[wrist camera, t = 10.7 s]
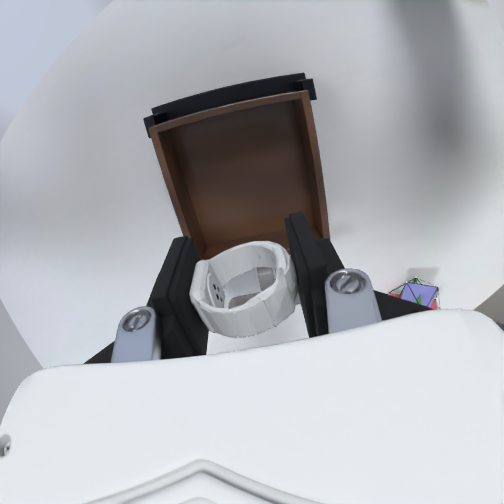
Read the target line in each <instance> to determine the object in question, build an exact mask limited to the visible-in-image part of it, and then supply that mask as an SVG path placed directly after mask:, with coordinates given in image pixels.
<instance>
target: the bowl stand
mask: <svg viewBox="0 0 504 504" xmlns="http://www.w3.org/2000/svg"><path fill="white" fill-rule="evenodd" d="M306 90H308V92H309V97H310V100H316V99H317V98H316V93H315V88H314V83H313V79H306V78H305V73H298V74H291V75H284V76H278V77H272V78H266V79H260V80H255V81H250V82H245V83H241V84H236V85H232V86H227V87H223V88H219V89H215V90H211V91H207V92H203V93H200V94H196V95H193V96H189V97H186V98H182V99H179V100H176V101H173V102H170V103H167V104H163V105H160V106H158V107H155V108H152V109H151V110H152V113H153V115H152V116H149V117H146V118H144V119H143V120H144V123H145V127H146V130H147V134H148V137H149V138H151V135H150V131H149V128H150V127H153V126H155V125H158V124H161V123H163V122H166V121H169V120H173V119H176V118H179V117H183V116H186V115H189V114H193V113H196V112H200V111H204V110H207V109H211V108H215V107H219V106H223V105H227V104H232V103H236V102H241V101H245V100H250V99H255V98H260V97H265V96H271V95H276V94H282V93H288V92H295V91H306Z"/></svg>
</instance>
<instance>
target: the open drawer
mask: <svg viewBox="0 0 504 504" xmlns="http://www.w3.org/2000/svg"><path fill="white" fill-rule="evenodd" d="M149 131H150V135H151V138H152V142H153V145H154V148H155V151H156V155H157V158H158V161H159V164H160V167H161V171H162V174H163V177H164V180H165V183H166V186H167V189H168V192H169V195H170V198H171V201H172V204H173V207H174V210H175V213H176V216H177V219H178V221H179V224H180V227H181V230H182V233H183V236H188V238H193V240H194V242H195V245H196V248H197V251H198V254H199V256H200V259H201V260H207V259H208V260H210V259H211V258H213V257H215V256H216V255H218V254H220V253H222V252H224V251H226V250H229V249H230V248H233V247H235V246H238V245H241V244H245V243H249V242H253V241H270V242H273V243H277V244H279V245H281V246H282V247H283V248H285V250H286V251H287V253H288V254H289V255H291V254H290V248H289V243H288V237H287V231H286V226H285V220H284V218H289V214H291V213H296V212H301V211H302V212H303V214H304V216H305V218H306V220H307V223H308V225H309V227H310V229H311V231H312V233H313V235H314V238H315V240H319V239H324V238H329V240H330V233H329V223H328V214H327V205H326V197H325V189H324V182H323V174H322V167H321V161H320V154H319V148H318V141H317V135H316V130H315V124H314V118H313V113H312V108H311V102H310V97H309V92H308V90H306V91H295V92H288V93H282V94H276V95H271V96H265V97H260V98H255V99H250V100H245V101H241V102H236V103H232V104H227V105H223V106H219V107H215V108H211V109H207V110H204V111H200V112H196V113H193V114H189V115H186V116H183V117H179V118H176V119H173V120H169V121H166V122H163V123H161V124H158V125H155V126H153V127H150V128H149ZM257 273H258V278H259V282H260V286H261V290H262V291H264V290H265V289H267V288H268V287H270V286H271V285H273V284H274V282H275V280H274V275H273V271H272V268H268V267H259V268H257ZM259 293H261V292H259ZM259 293H254V294H249V295H243V296H238V297H234V298H232V299H231V300H230V302H229V306H228V307H229V309H231V308H234V307H237V306H241V305H244V304H245V303H246V302H247V301H249V300H250V299H251V298H253V297H255V296H256V295H258V294H259ZM294 304H295V305H297V304H301V302H300V298H299V294H297V297H296V300H295V302H294Z"/></svg>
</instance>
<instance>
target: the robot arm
mask: <svg viewBox="0 0 504 504" xmlns="http://www.w3.org/2000/svg"><path fill="white" fill-rule="evenodd" d="M284 220H285V226H286V231H287V237H288V243H289V248H290V254H291V259H292V261H293V263H294V265H295V269H296V273H297V280H298V294H299V298H300V302H301V306H302V310H303V314H304V318H305V322H306V326H307V330H308V335H309V338H307V339H302V340H297V341H292V342H287V343H282V344H276V345H270V346H265V347H259V348H252V349H246V350H240V351H233V352H226V353H218V354H210V355H206V351H207V342H208V333H209V330H208V329H207V327H206V326H205V324H204V322H203V321H202V319H201V317H200V316H199V314H198V312H197V311H196V309H195V308H194V306H193V304H192V302H191V301H190V298H189V292H190V288H191V283H192V279H193V274H194V270H195V266H196V264H197V262H199V261H200V260H201V259H200V256H199V254H198V251H197V248H196V245H195V242H194V240H193V238H188V236H183V237H178V238H174V239H173V242H172V244H171V246H170V249H169V251H168V254H167V256H166V259H165V261H164V263H163V266H162V268H161V271H160V273H159V274H158V277H157V279H156V282H155V285H154V287H153V290H152V292H151V295H150V298H149V300H148V303H147V306H143V307H138V308H135V309H133V310H131V311H129V312H128V313H127V314H126V315H124V316H123V318H122V319H121V320H120V323H119V326H118V330H117V334H116V339H115V341H114V342H112V343H111V344H110V345H108V346H107V347H106V348H104V349H103V350H102V351H100V352H99V353H97V354H96V355H95V356H93V357H92V358H91V359H89V360H88V361H87V362H85V363H84V364H77V365H62V366H54V367H50V368H46V369H43V370H40V371H38V372H35V373H33V374H32V375H30V376H28V377H27V378H26V379H24V380H23V381H22V382H21V384H20V385H19V387H18V389H17V390H16V392H15V394H14V396H13V398H12V400H11V402H10V404H9V406H8V408H7V410H6V413H5V415H4V417H3V420H2V422H1V425H0V504H504V324H502V323H501V322H499V321H495V320H491V319H490V318H489V317H487V316H485V315H484V314H482V313H480V312H477V311H473V310H467V309H437V310H434V309H432V308H430V307H427V306H424V305H421V304H417V303H414V302H411V301H407V300H404V299H401V298H398V297H394V296H391V295H388V294H385V293H381V292H378V291H375V290H373V287H372V284H371V281H370V278H369V277H368V275H367V274H366V273H364V272H363V271H360V270H357V269H352V268H350V269H345V268H344V266H343V264H342V262H341V260H340V258H339V256H338V255H337V253H336V251H335V249H334V247H333V245H332V243H331V242H330V240H329V238H324V239H319V240H315V238H314V235H313V233H312V231H311V229H310V227H309V225H308V223H307V220H306V218H305V216H304V214H303V212H302V211H301V212H296V213H291V214H289V218H284Z"/></svg>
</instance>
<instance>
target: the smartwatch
mask: <svg viewBox="0 0 504 504" xmlns="http://www.w3.org/2000/svg"><path fill="white" fill-rule="evenodd" d="M259 267H268V268H272V269H274V270H276V281H275V282H274V284H273V285H271V286H270V287H268V288H267V289H265V290H264V291H262V292H261V293H259V294H258V295H256V296H255V297H253V298H251V299H250V300H249V301H247V302H246V303H245V304H244V305H241V306H237V307H234V308H231V309H226V308H224V299H225V295H224V291H223V288H224V286H225V285H226V284H227V283H228V282H229V281H230V280H231V279H232V278H233V277H236V276H238V275H240V274H243V273H245V272H247V271H250V270H252V269H254V268H259ZM297 294H298V280H297V273H296V269H295V265H294V263H293V261H292V259H291V257H290V256H289V254H288V253H287V251H286V250H285V248H283V247H282V246H281V245H279V244H277V243H273V242H270V241H253V242H249V243H245V244H241V245H238V246H235V247H233V248H230V249H229V250H226V251H224V252H222V253H220V254H218V255H216V256H215V257H213V258H211V259H210V260H208V259H207V260H200V261H199V262H197V264H196V266H195V270H194V274H193V279H192V283H191V288H190V292H189V298H190V301H191V302H192V304H193V306H194V308H195V309H196V311H197V312H198V314H199V316H200V317H201V319H202V321H203V322H204V324H205V326H206V327H207V329H208V330H209V331H211V332H213V333H218V334H221V335H223V336H227V337H232V338H237V337H238V338H242V337H246V336H247V337H249V336H254V335H256V334H260V333H262V332H264V331H266V330H268V329H270V328H271V327H273V326H274V327H276V326H277V325H278V324H279V323H280V322H282V321H283V320H284V319H286V318H287V317H288V316H290V315H291V314H292V313H293V312H294V309H295V304H294V302H295V300H296V297H297Z"/></svg>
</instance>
